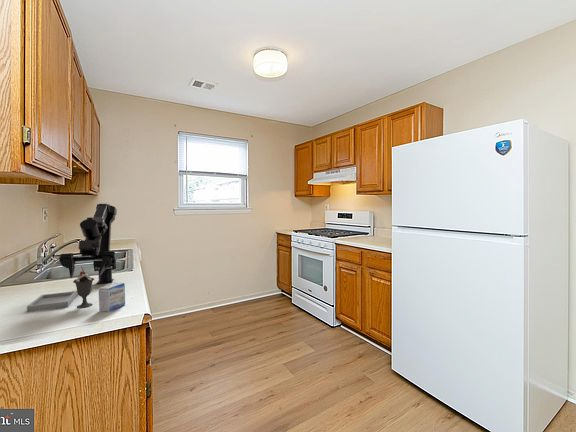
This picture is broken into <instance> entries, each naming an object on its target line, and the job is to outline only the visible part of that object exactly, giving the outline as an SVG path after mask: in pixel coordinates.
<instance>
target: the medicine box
mask: <svg viewBox="0 0 576 432" xmlns="http://www.w3.org/2000/svg"><path fill="white" fill-rule="evenodd" d="M125 286H126V284H125V282H114V283H113V282H112V283H109V284H107V285H105V286H102V287H99V288H98V310H99V312H106V313H107V312H108V313H110V312H112V311H114V310H116V309H118V308H122V307H123V306H125V305H126V293H125V292H126V287H125Z"/></svg>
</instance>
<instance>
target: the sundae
mask: <svg viewBox="0 0 576 432" xmlns="http://www.w3.org/2000/svg"><path fill="white" fill-rule="evenodd" d="M80 268H81V269H82V270H81V271H80V273H79V274H78V275H77V278H76V279H74V280H73V281H72V283H73V284H75V286H76V287H75V288H76V291H77V294H78V296H79V297H80V298H81V299H82V303H80V304H79V305H76V308H77V309H86V308H90V307H92V306H93V303H90V302H88V300H87V297H88V296H90V294H91V292H92V286H93V282H94V281H95V278H93V277H91V276H89V274H88V273H87V272H85V270H84V268H83V266H80Z"/></svg>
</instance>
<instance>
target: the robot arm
mask: <svg viewBox="0 0 576 432" xmlns="http://www.w3.org/2000/svg"><path fill="white" fill-rule="evenodd" d="M117 212H118V211H117V208H116V206H114V205H110V203H98V204H96V207H95V212H94V215H93V217H89V216H88V217H87V218H86V219H84V220H82V221H81V222H80V223H79V227H80V230H81V233H82V235H83V237H84V238H85V239H83V240H79V241H78V250H79V254H80V255H74V253H73V252H68V253H64V252H63V253H61V254H60V255H59V256H58V260H59V262H60V264H61V267H64V268H66V269H68V272H69V277H70V279H73V276H74V273H75V268H76V266H75V265H76V262H86V261H87V262H93V263H92V264H93V271H94V272H97V273H98V281H97V282H96V284H97V285H100V284H108V283H109V284H112V283H113V281H114V280H115V279H114V278H113V271H115V270H117V255H116V251H114V250H111V238H112V237H111V235H112V224H113V222H115V220H116V216H117Z"/></svg>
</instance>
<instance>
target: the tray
mask: <svg viewBox="0 0 576 432" xmlns="http://www.w3.org/2000/svg"><path fill="white" fill-rule="evenodd" d="M78 296H79V295H78V293H77V290H76V291H75V290H74V291H65V292H54V293H46V294H41V295H40V296H38V297H37V298H36V299H34V300H33V301H32V302H30V303H29V304H28V305H27V306H26V313H29V312H36V311H45V310H52V309H60V308H62V309H63V308H69V306H70V305H72V303H73V302H74V300H75V299H76V298H77V297H78Z"/></svg>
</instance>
